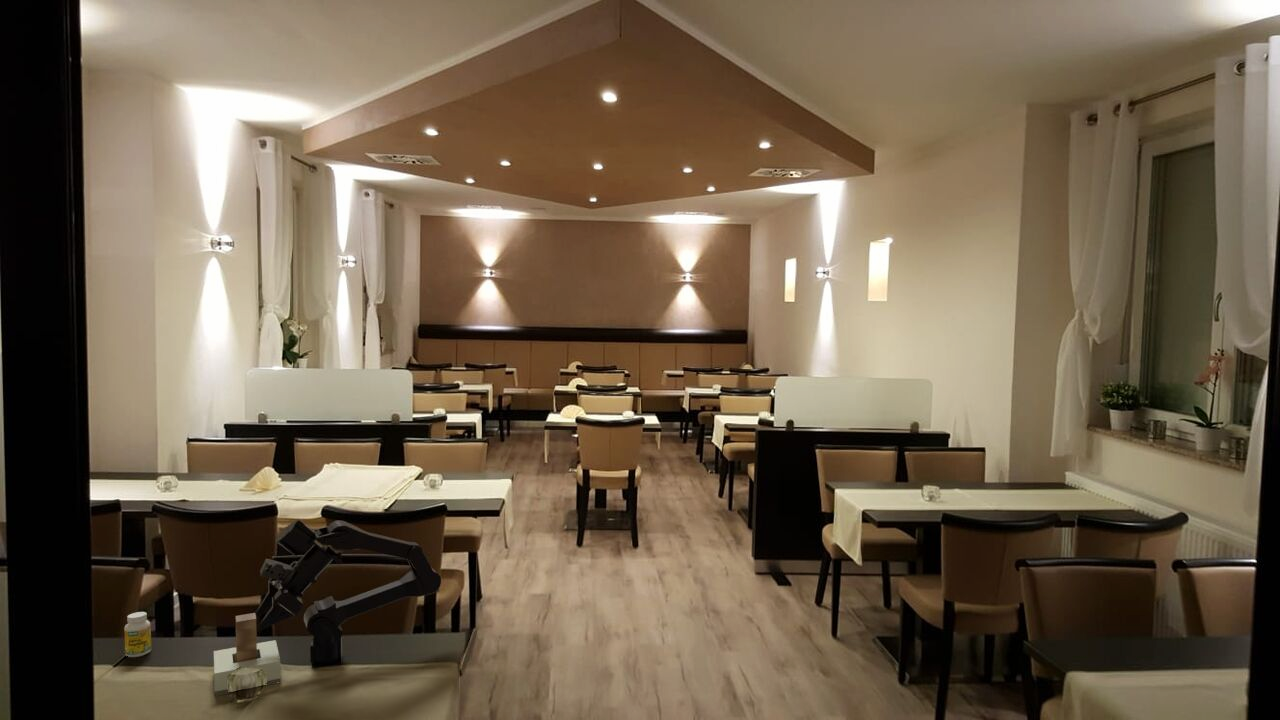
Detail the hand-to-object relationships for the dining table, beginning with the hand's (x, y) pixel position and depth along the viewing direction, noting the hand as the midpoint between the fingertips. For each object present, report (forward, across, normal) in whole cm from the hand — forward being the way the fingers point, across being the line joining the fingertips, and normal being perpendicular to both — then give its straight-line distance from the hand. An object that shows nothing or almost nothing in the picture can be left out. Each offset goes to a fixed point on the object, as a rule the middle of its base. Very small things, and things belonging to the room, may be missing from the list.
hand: (258, 621), depth 175 cm
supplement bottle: (+27, -27, -9) cm, 39 cm away
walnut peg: (+10, 0, +6) cm, 12 cm away
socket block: (+11, 0, +7) cm, 13 cm away
